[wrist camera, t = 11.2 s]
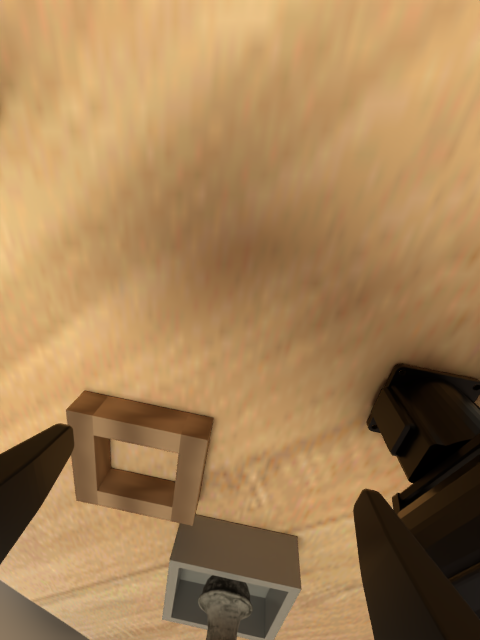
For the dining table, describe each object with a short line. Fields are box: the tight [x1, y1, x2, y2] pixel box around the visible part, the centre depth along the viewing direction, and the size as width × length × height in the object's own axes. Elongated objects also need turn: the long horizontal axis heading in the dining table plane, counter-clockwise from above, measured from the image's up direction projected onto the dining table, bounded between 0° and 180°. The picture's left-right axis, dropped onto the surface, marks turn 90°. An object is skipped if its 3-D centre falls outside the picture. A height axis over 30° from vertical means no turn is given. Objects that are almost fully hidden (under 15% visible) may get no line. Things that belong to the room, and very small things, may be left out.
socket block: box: [66, 391, 213, 526], centre depth 26 cm, size 12×12×2 cm
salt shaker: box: [198, 575, 253, 640], centre depth 27 cm, size 6×6×12 cm
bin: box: [162, 515, 301, 640], centre depth 31 cm, size 13×13×4 cm
